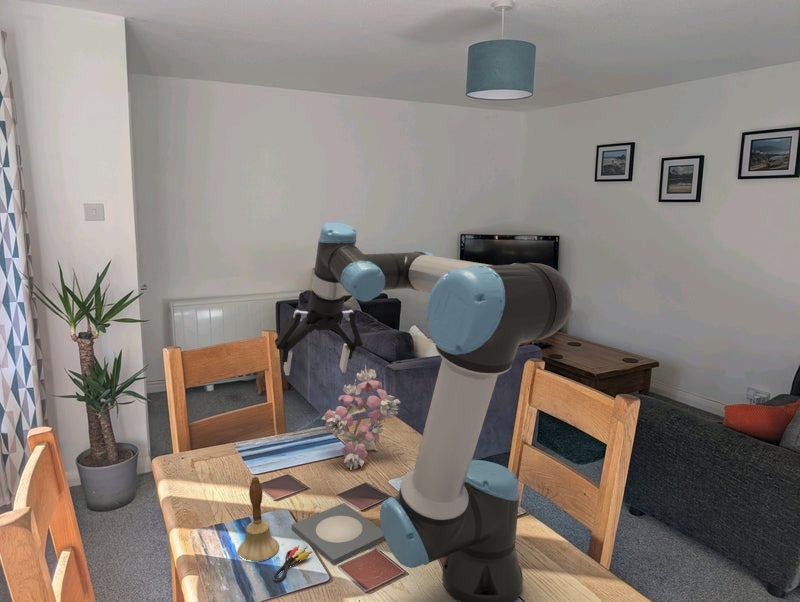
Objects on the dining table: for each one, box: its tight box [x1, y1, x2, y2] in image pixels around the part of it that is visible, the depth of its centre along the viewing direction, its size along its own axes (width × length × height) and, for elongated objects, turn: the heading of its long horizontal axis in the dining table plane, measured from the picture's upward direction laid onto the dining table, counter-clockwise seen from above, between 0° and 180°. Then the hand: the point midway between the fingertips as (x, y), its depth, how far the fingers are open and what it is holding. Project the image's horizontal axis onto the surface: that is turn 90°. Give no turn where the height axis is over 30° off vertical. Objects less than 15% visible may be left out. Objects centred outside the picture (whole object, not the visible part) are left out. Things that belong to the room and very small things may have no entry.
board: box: [291, 502, 386, 566], centre depth 123 cm, size 16×14×1 cm
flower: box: [320, 363, 402, 471], centre depth 158 cm, size 20×22×25 cm
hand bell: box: [237, 476, 280, 562], centre depth 115 cm, size 8×8×16 cm
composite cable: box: [272, 544, 313, 583], centre depth 112 cm, size 10×5×2 cm, turn 150°
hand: (314, 370), depth 134 cm, fingers open, 13 cm apart
